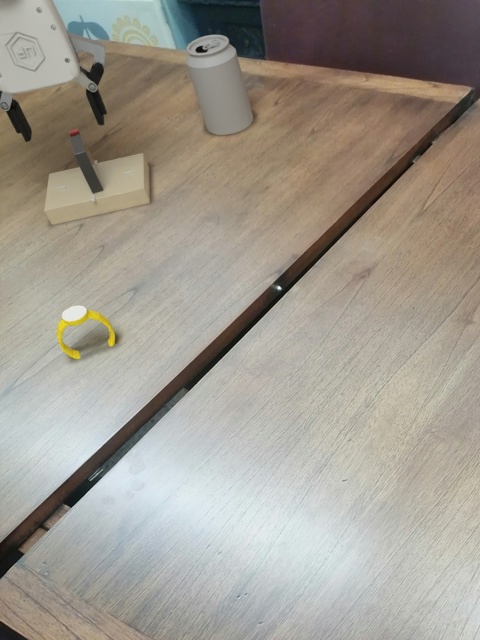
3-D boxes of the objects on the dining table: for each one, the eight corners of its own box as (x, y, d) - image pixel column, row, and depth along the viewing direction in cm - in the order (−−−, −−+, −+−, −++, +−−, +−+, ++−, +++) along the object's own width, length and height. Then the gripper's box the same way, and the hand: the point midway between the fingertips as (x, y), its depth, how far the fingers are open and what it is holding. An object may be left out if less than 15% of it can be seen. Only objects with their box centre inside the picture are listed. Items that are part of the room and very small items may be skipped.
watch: (74, 370, 80) (47, 330, 75) (70, 356, 81) (44, 316, 76) (124, 351, 81) (101, 310, 76) (119, 338, 82) (96, 297, 77)
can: (204, 124, 110) (177, 40, 100) (248, 111, 111) (226, 26, 101) (213, 145, 106) (186, 59, 96) (260, 131, 107) (238, 44, 97)
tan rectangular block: (54, 232, 97) (42, 211, 94) (59, 191, 104) (48, 170, 101) (152, 210, 97) (143, 189, 95) (151, 170, 104) (142, 149, 101)
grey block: (103, 190, 96) (84, 149, 91) (92, 193, 96) (72, 153, 91) (97, 167, 100) (78, 126, 95) (86, 170, 100) (67, 130, 95)
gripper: (-88, 0, 75) (-2, 156, 89) (71, -32, 77) (131, 127, 90) (-79, -23, 79) (1, 130, 93) (71, -52, 81) (128, 102, 95)
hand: (65, 128), depth 92 cm, fingers open, 9 cm apart
